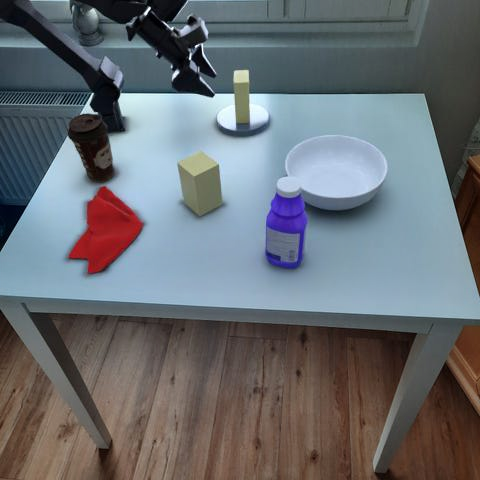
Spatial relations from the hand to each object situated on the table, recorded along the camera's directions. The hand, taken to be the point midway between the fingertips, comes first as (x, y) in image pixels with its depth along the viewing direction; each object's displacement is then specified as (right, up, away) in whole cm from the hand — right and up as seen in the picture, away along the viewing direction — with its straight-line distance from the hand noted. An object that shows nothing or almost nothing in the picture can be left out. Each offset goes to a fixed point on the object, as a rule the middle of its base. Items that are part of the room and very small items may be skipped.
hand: (214, 86), depth 112 cm
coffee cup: (-26, -22, -3) cm, 34 cm away
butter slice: (+7, -5, +6) cm, 10 cm away
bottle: (+15, -44, -22) cm, 51 cm away
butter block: (-2, -31, -11) cm, 33 cm away
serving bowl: (+26, -28, -10) cm, 40 cm away
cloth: (-21, -37, -14) cm, 45 cm away
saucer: (+7, -6, +7) cm, 11 cm away
